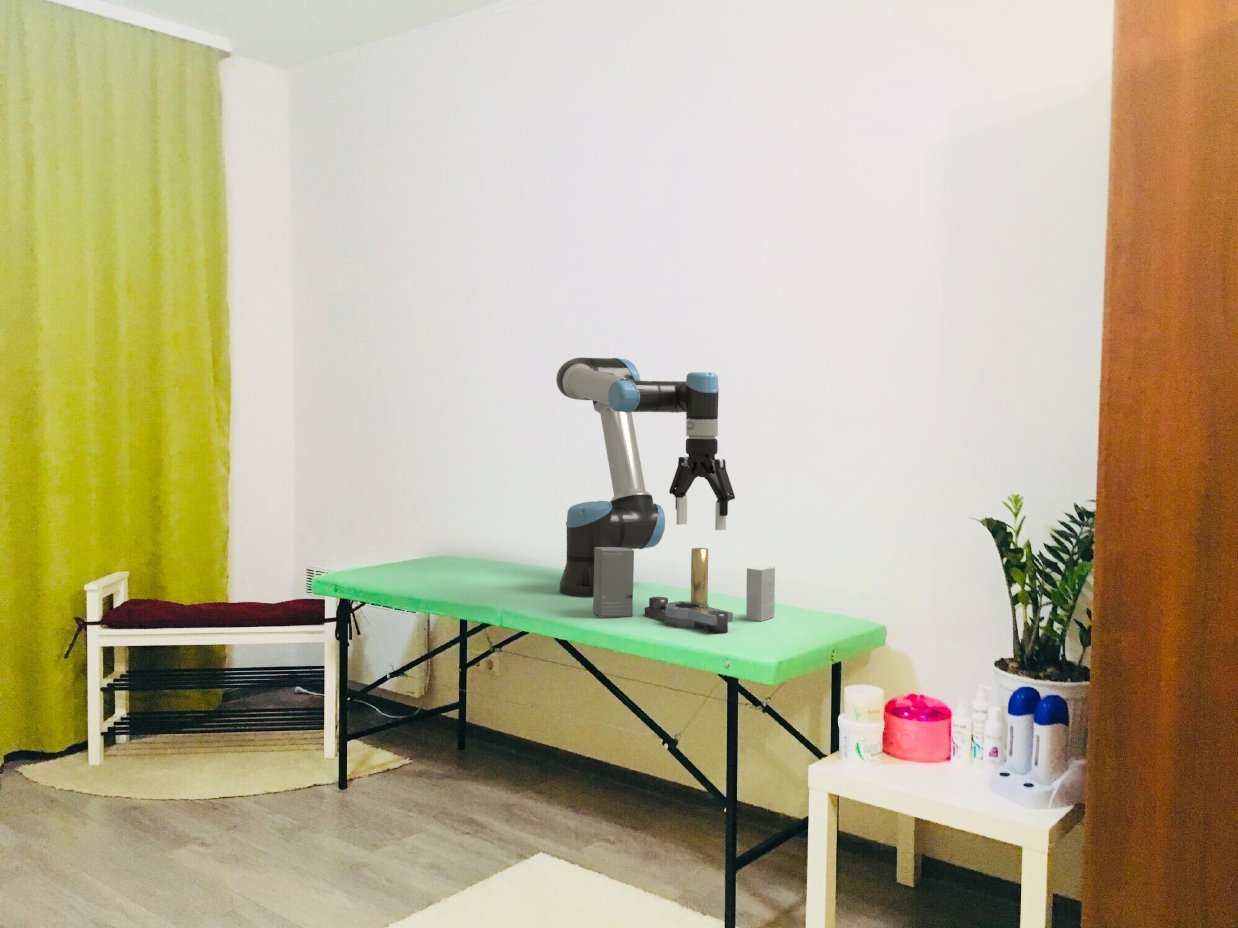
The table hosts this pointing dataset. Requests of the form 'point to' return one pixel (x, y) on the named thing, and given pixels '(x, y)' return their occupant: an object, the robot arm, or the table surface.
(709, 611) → the grey socket base
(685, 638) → the table surface
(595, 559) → the skincare box
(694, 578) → the brass pin
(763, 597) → the skincare box
